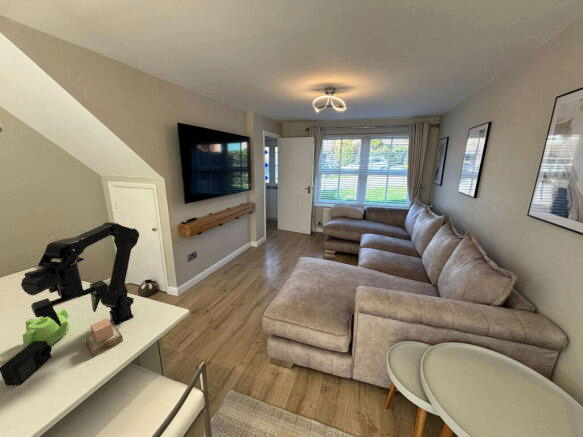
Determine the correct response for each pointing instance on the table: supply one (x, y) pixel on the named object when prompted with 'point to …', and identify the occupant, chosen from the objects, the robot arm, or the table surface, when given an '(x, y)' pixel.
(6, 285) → the table surface
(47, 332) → the teapot
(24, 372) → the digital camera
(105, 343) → the stand
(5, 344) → the table surface
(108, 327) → the cube
